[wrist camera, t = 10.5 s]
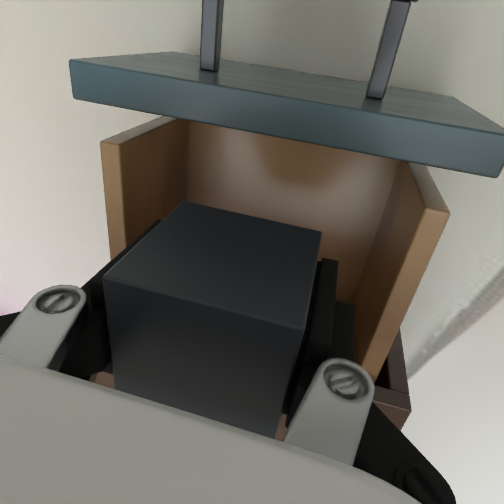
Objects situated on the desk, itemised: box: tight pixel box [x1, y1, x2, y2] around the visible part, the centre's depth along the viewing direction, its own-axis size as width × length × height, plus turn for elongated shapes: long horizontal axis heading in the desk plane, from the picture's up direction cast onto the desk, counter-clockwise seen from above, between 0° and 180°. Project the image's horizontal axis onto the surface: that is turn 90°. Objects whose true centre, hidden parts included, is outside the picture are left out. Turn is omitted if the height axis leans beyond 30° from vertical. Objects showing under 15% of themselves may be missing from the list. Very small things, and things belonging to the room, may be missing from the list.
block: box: [102, 201, 322, 439], centre depth 11 cm, size 5×5×5 cm
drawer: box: [69, 0, 504, 384], centre depth 16 cm, size 17×13×8 cm
